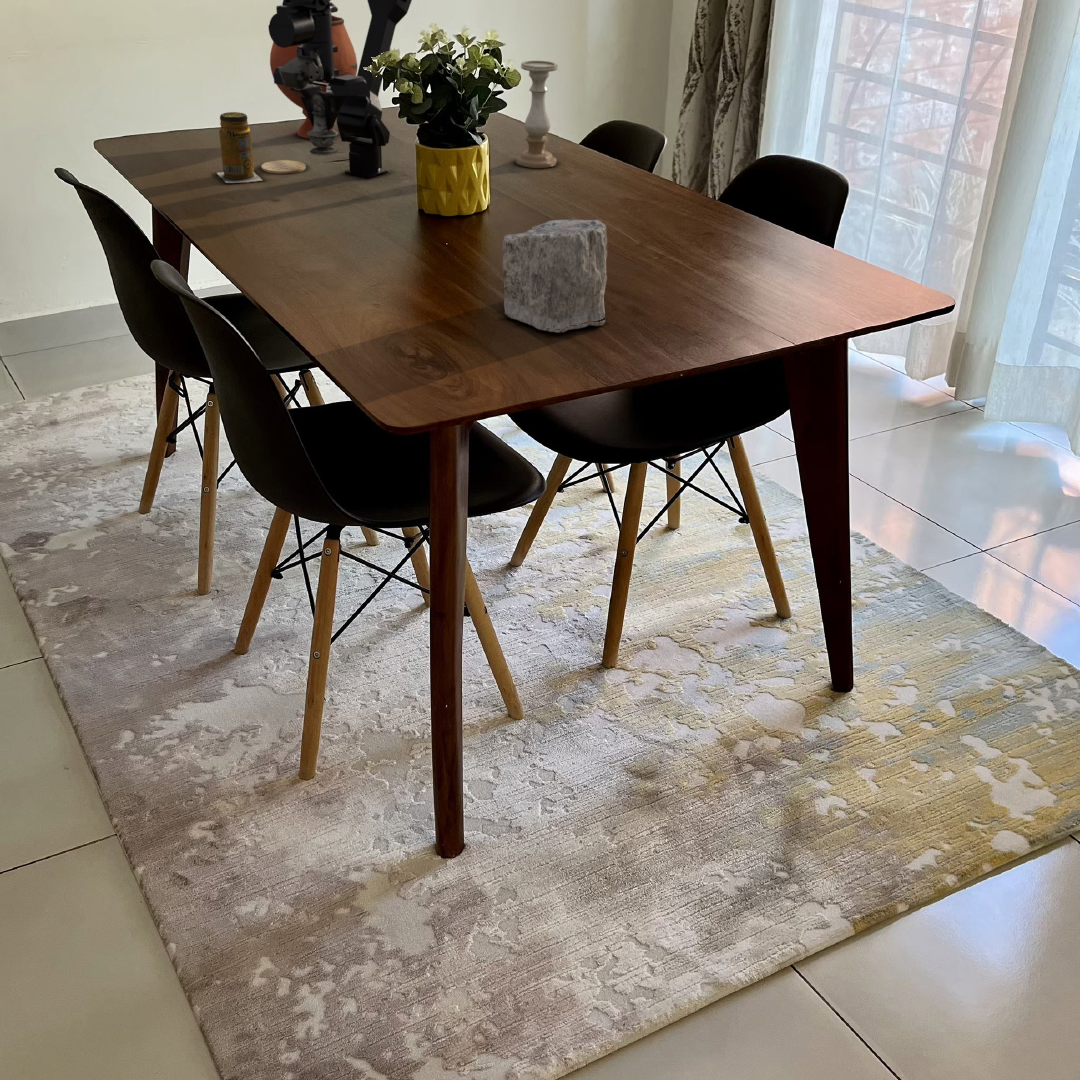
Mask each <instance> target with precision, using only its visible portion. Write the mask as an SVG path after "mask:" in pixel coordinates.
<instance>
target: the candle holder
mask: <svg viewBox="0 0 1080 1080" xmlns="http://www.w3.org/2000/svg"><path fill="white" fill-rule="evenodd" d="M520 68H521V69H522V70H523V71H528V76H529V78H530V79H531V81H532V82H531V86H530V87H529V92H531V101H530V102H531V104H530V109H529V111H528V114H527V116H526V118H525V121H524V129H525V131H526V133H527V134H528V135H527V136H526V137H525V141H526V142H527V145H528V149H526V150H522V151H521V153H520V155H517V156H516V157H515V163H516V164H517V165H518V166H520V167H525V168H529V169H530V168H531V169H532V168H533V169H546V168H553V167H555V166H556V165H557V163H558V162H557V160H558V159H557V158H556V157H555V156H553V154H552V152H550V151H548V150H546V149H545V147H546V144H547V143H548V141H549V138H548V137H547V136H546V135H547V134H548V133H549V131H550V128H551V121H550V118H549V116H548V113H547V110H546V93H547V92H548V91H549V90H548V88H547V86H546V81H547V80H548V78H550V72H554V71H557V70H558V69H559V67H558V63H556V62H553V61H547V60H525V61H522V62H521V63H520Z"/></svg>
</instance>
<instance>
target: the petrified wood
mask: <svg viewBox="0 0 1080 1080" xmlns="http://www.w3.org/2000/svg"><path fill="white" fill-rule="evenodd" d="M501 252H502V254H503V255H502V262H501V268H502V276H503V294H504V295H503V296H504V301H503V308H504V314H505V316H507V317H508V318H510V319H513V320H516V321H519V322H522V323H525V324H526V325H527V324H528V325H529V326H532V327H534V328H535V329H537V330H540V331H546V332H549V333H565V332H567V331H569V330H578V329H583V328H587V327H588V326H593V327H599V326H605V323H606V311H605V292H606V286H607V282H608V281H607V280H608V271H607V257H608V235H607V226H606V224H605V223H603V222H602V220H600V219H557V220H556V219H553V220H549V221H546V222H544V223H541V224H539V225H535V226H532V228H531V229H528V230H526V231H525V232H520V233H514V234H512V233H510V234H506V235H504V236H503V239H502V248H501ZM603 318H605V320H603V321H600V322H588V323H586V324H581V323H584V322H587V321H598V320H601V319H603ZM579 324H580V325H579ZM570 325H577V326H570ZM543 327H545V328H543ZM566 327H568V328H566ZM547 328H550V329H547ZM564 328H565V329H564ZM556 329H560V330H556ZM562 329H564V330H562Z"/></svg>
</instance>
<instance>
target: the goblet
mask: <svg viewBox="0 0 1080 1080" xmlns="http://www.w3.org/2000/svg"><path fill="white" fill-rule="evenodd" d="M331 18H332V36H333V45H334V46H338V52H335V53H333V55H334V69H339V75H337V76H334V78H335V77H339V76H344V75H355V76H357V73H358V60H357V54H356V52H355V48H354V45H353V42H352V40H351V37H350V36H349V33H348V30H347V28H346V25H345V24H344V23H345V19H343V17H338V16H336V15H332V14H331ZM298 46H302V44H300V45H296V46H291V47H286V48H281V47H279V46H277V45H276V44H275V43H274V42H273V41H272V45H271V49H270V54H269V66H270V71H271V74H272V78H273V79H274V75H273V73H274V71H275V69H276V68H277V67H282V66H284V65H285V64H286V63H288V62H289V61H290V60H292V59H294V58H296V55H297V53H296V50H297V47H298ZM323 81H324V80H323ZM325 82H326V81H325ZM275 85H276V86H277V88H278V89H279V90H280V92H281V93H282V94H283V95H284V96H285V97H286V98H287V99H288V100H289V101H290V102H292V103H293V104H294V105H296V106H297V107H299V108H300V109H302V110H301V111H302V114H303V115H304V117H305V120H304V121H303V123H302V124H300V127H299V129H298V131H297V136H298V137H299V138H300V137H301V138H303V139H308V140H310V139H309V135H308V134H307V132H308V131H311V130H312V129H313V126H312V124H311V121H310V119H309V116H308V114H307V111H306V109H305V106H304V104H303V102H302V100H301V98H300V97H299V96H298V95H297V94H296V93H295V92H293V91H291V90H290V88H292V87H285V86H284V85H279V84H275ZM321 89H322V90H321V91H323V92H324V93H326V89H327V87H324V86H321ZM332 129H333V130H334V131H336V130H335V129H334V127H333V128H332Z"/></svg>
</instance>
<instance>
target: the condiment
mask: <svg viewBox="0 0 1080 1080" xmlns="http://www.w3.org/2000/svg"><path fill="white" fill-rule="evenodd" d="M248 119H249V118H248V115H247V114H246V113H244V112H238V111H231V112H229V111H227V112H223V113H221V114H220V115H219V121H220V123H219V124H220V125H219V126H220V128H219V131H218V132H219V134H218V135H219V143H220V154H221V163H222V171H220V172H219V171H218V172H216V174H217V175H218V176H219V178H220V179H222V180H223V182H225V183H226V184H236V183H237V184H238V183H239V184H240V183H251V182H260V181H263V179H262V177H260V176H259V175H258V174H256V172H255V164H254V157H253V156H254V155H253V145H252V133H251V129H250V127H249V122H248Z"/></svg>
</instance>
